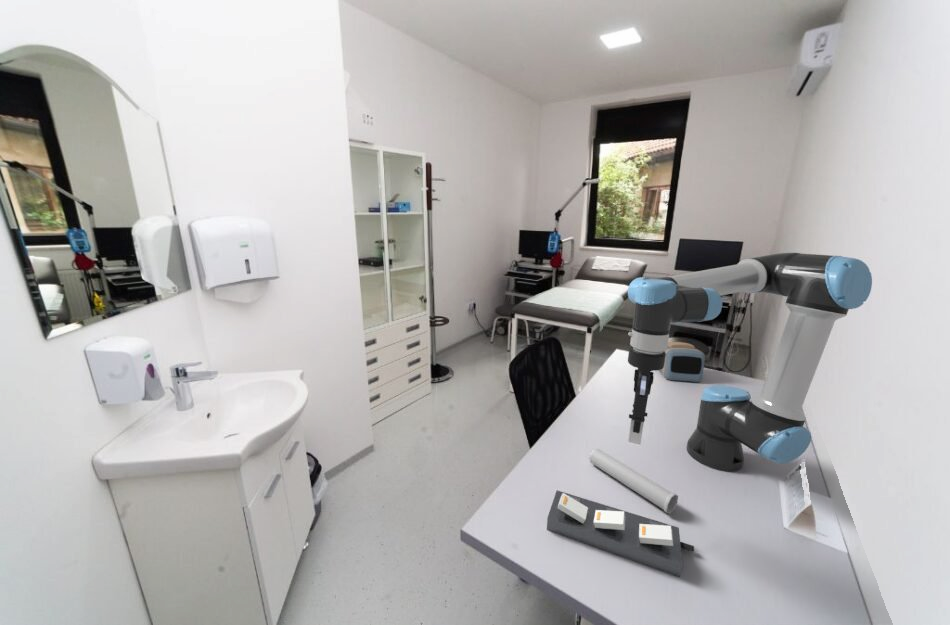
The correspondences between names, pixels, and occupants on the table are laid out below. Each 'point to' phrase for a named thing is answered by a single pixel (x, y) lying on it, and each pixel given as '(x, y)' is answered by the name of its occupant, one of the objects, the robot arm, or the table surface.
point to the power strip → (618, 536)
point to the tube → (634, 480)
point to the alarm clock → (683, 362)
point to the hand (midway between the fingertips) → (634, 441)
